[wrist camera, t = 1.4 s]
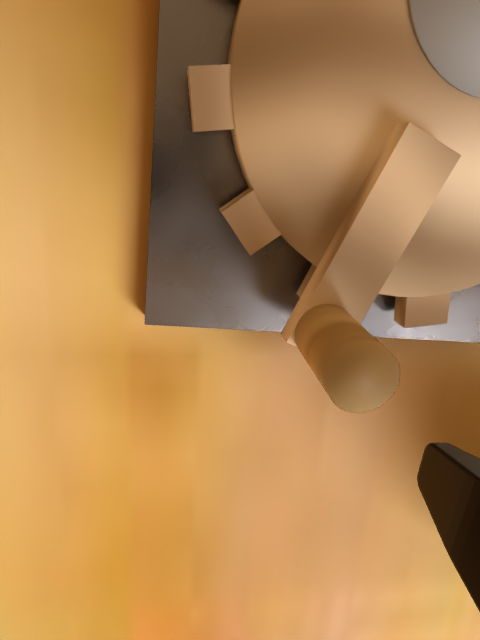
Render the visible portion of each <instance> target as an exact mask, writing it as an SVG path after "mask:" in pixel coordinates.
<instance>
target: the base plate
mask: <svg viewBox="0 0 480 640" xmlns="http://www.w3.org/2000/svg"><path fill="white" fill-rule="evenodd" d="M239 2H240V0H160V9H159V30H158V51H157V73H156V94H155V115H154V136H153V157H152V179H151V200H150V221H149V242H148V263H147V284H146V306H145V324H146V325H164V326H183V327H201V328H219V329H238V330H256V331H274V332H282V330H283V328H284V326H285V324H286V322H287V321H288V319H289V317H290V315H291V313H292V312H293V310H294V308H295V306H296V304H297V302H298V301H299V299H300V297H299V296H298V295H297V294H296V293H297V291H298V289H299V287H300V286H301V284H302V282H303V280H304V278H305V276H306V275H307V273H308V271H309V269H310V267H311V265H312V263H311V262H310V261H308V260H307V259H306V258H305V257H303V256H302V255H301V254H300V253H299V252H298V251H296V250H295V249H294V248H293V247H292V246H291V245H290V244H288V243H287V242H286V241H285V240H284V239H283V238H282V236H281V235H280V236H278V237H277V238H276V239H274V240H273V241H271V242H270V243H268V244H267V245H265V246H264V247H262V248H261V249H259V250H258V251H257V252H255V253H254V254H252V255H251V256H250V255H249V253H248V252H247V251H246V249H245V248H244V246H243V245H242V243H241V242H240V240H239V239H238V237H237V236H236V234H235V233H234V231H233V230H232V228H231V227H230V225H229V224H228V222H227V221H226V219H225V218H224V216H223V215H222V213H221V212H220V210H219V209H220V208H221V207H222V206H224V205H225V204H227V203H228V202H230V201H231V200H232V199H234V198H235V197H237V196H238V195H240V194H241V193H242V192H244V191H245V190H247V189H248V188H249V187H248V185H247V182H246V180H245V178H244V176H243V173H242V170H241V167H240V164H239V161H238V158H237V155H236V152H235V147H234V143H233V138H232V133H231V130H221V131H204V132H193V130H192V119H191V108H190V96H189V85H188V74H187V70H188V66H199V65H224V64H228V55H229V49H230V42H231V36H232V29H233V24H234V20H235V16H236V13H237V9H238V5H239ZM395 297H396V296H390V295H383V294H378V295H377V297H376V298H375V300H374V302H373V303H372V305H371V307H370V308H369V310H368V312H367V313H366V315H365V317H364V318H363V320H362V322H361V323H360V324H361V325H362V326H363V327H364V328H365V329H366V330H367V331H368V332H369V333H370V334H371V335H373V336H374V337H384V338H403V339H421V340H439V341H458V342H476V343H480V284H478V285H475V286H473V287H470V288H467V289H463V290H459V291H456V292H452V293H451V296H450V304H449V313H448V321H447V324H438V325H429V326H420V327H412V328H403V327H402V326H401V325H399V324H398V323H397V322H396V321H394V311H395Z"/></svg>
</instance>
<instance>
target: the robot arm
mask: <svg viewBox="0 0 480 640" xmlns="http://www.w3.org/2000/svg"><path fill="white" fill-rule="evenodd" d="M417 481H418V486H419V489H420V491H421V493H422V496H423V498H424V500H425V502H426V505H427V507H428V509H429V512H430V514H431V516H432V519H433V521H434V523H435V525H436V528H437V530H438V532H439V535H440V537H441V539H442V541H443V544H444V546H445V548H446V550H447V552H448V554H449V556H450V558H451V560H452V562H453V564H454V566H455V568H456V570H457V572H458V573H459V575H460V577H461V579H462V581H463V582H464V584H465V586H466V588H467V590H468V591H469V593H470V595H471V597H472V599H473V601H474V602H475V604H476V606H477V608H478V610H479V611H480V459H479V458H477V457H475V456H473V455H471V454H469V453H467V452H465V451H463V450H461V449H459V448H457V447H455V446H453V445H451V444H449V443H430V444H428V445H427V446H426V447H425V450H424V453H423V457H422V460H421V464H420V467H419V471H418V475H417Z"/></svg>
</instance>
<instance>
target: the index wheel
mask: <svg viewBox="0 0 480 640" xmlns="http://www.w3.org/2000/svg"><path fill="white" fill-rule="evenodd" d="M187 74H188V85H189V96H190V108H191V119H192V130H193V132H204V131H221V130H231V133H232V138H233V143H234V147H235V152H236V155H237V158H238V161H239V164H240V167H241V170H242V173H243V176H244V178H245V180H246V182H247V185H248V187H249V188H248V189H247V190H245V191H244V192H242V193H241V194H240V195H238V196H237V197H235V198H234V199H232V200H231V201H230V202H228V203H227V204H225V205H224V206H222V207H221V208H220V209H219V210H220V212H221V213H222V215H223V216H224V218H225V219H226V221H227V222H228V224H229V225H230V227H231V228H232V230H233V231H234V233H235V234H236V236H237V237H238V239H239V240H240V242H241V243H242V245H243V246H244V248H245V249H246V251H247V252H248V253H249V255H250V256H251V255H252V254H254V253H255V252H257V251H258V250H259V249H261V248H262V247H264V246H265V245H267V244H268V243H270V242H271V241H273V240H274V239H276V238H277V237H278V236H280V235H281V236H282V238H283V239H284V240H285V241H286V242H287V243H288V244H290V245H291V246H292V247H293V248H294V249H295V250H296V251H298V252H299V253H300V254H301V255H302V256H303V257H305V258H306V259H307V260H308V261H310V262H311V263H312V265H311V267H310V269H309V271H308V273H307V275H306V276H305V278H304V280H303V282H302V284H301V286H300V287H299V289H298V291H297V293H296V294H297V295H298V296H299V297H300V299H299V301H298V302H297V304H296V306H295V308H294V310H293V312H292V313H291V315H290V317H289V319H288V321H287V322H286V324H285V326H284V328H283V330H282V332H281V334H282V336H283V338H284V339H285V341H286V343H288V344H291V345H293V346H296V347H298V348H299V350H300V352H301V353H302V355H303V356H304V358H305V359H306V361H307V362H308V364H309V366H310V367H311V369H312V370H313V372H314V373H315V375H316V376H317V378H318V380H319V381H320V383H321V384H322V386H323V387H324V389H325V390H326V392H327V394H328V395H329V397H330V398H331V400H332V401H333V403H334V404H335V405H336V406H337V407H339V408H340V409H342V410H344V411H347V412H351V413H364V412H368V411H371V410H374V409H376V408H378V407H380V406H381V405H383V404H384V403H385V402H386V401H388V400H389V398H390V397H391V396H392V395H393V394H394V392H395V390H396V388H397V386H398V383H399V380H400V367H399V364H398V361H397V359H396V358H395V356H394V355H393V354H392V353H391V352H390V351H389V350H388V349H387V348H385V347H384V346H383V345H382V344H381V343H380V342H379V341H378V340H377V339H376V338H375V337H374V336H373V335H371V334H370V333H369V332H368V331H367V330H366V329H365V328H364V327H363V326H362V325H361V324H360V323H361V322H362V320H363V318H364V317H365V315H366V313H367V312H368V310H369V308H370V307H371V305H372V303H373V302H374V300H375V298H376V297H377V295H378V294H383V295H390V296H396V297H395V311H394V321H396V322H397V323H398V324H399V325H401V326H402V327H403V328H412V327H420V326H429V325H438V324H447V321H448V313H449V304H450V296H451V293H452V292H456V291H459V290H463V289H467V288H470V287H473V286H475V285H478V284H480V0H240V2H239V5H238V9H237V13H236V16H235V20H234V24H233V29H232V36H231V42H230V49H229V55H228V64H224V65H199V66H188V70H187Z"/></svg>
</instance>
